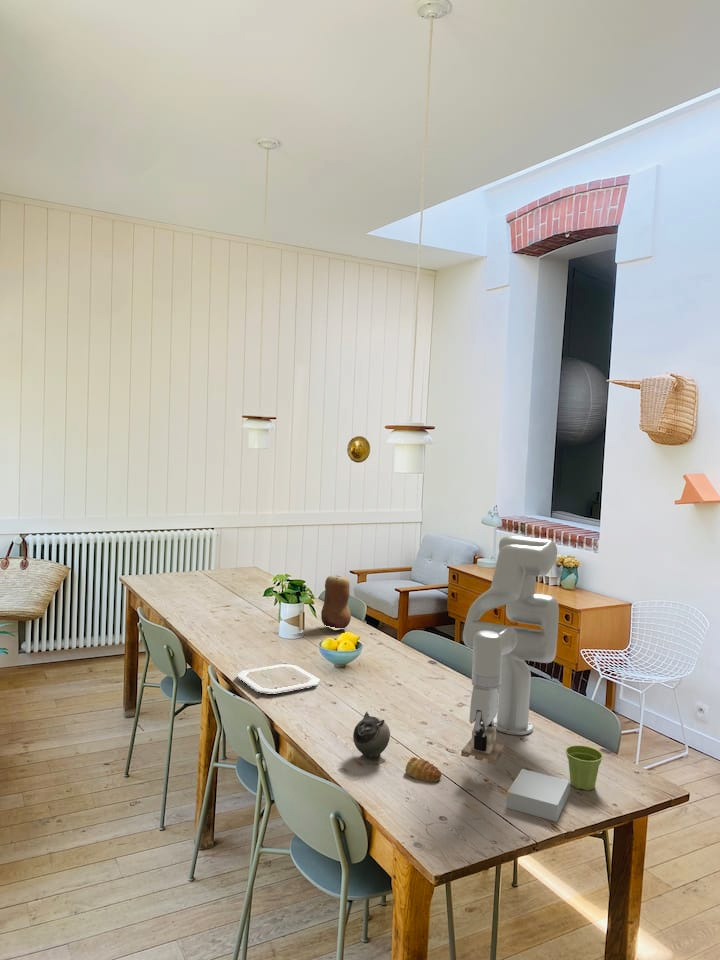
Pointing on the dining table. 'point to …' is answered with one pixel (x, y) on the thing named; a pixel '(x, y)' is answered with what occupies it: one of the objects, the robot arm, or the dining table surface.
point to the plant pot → (583, 766)
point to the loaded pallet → (483, 755)
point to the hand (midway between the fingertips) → (483, 744)
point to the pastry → (422, 770)
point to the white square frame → (312, 682)
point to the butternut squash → (336, 602)
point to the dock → (538, 794)
